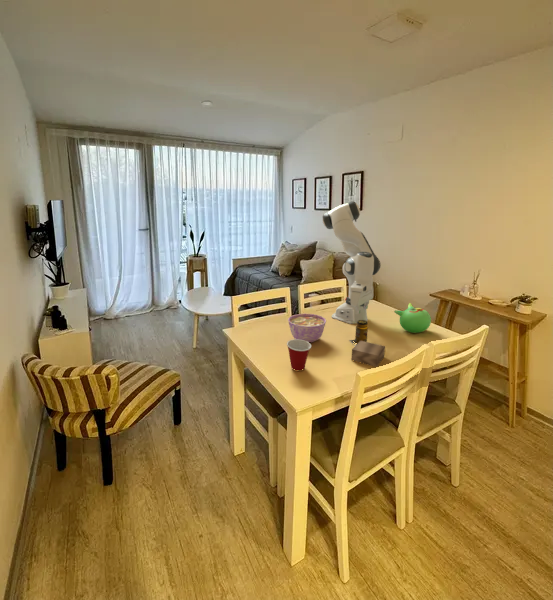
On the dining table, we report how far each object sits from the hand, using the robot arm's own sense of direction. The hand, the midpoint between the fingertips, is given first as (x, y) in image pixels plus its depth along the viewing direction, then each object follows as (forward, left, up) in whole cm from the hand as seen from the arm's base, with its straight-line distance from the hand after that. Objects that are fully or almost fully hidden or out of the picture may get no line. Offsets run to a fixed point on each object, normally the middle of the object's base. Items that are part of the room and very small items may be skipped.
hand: (361, 311), depth 171 cm
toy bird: (+18, +34, -18) cm, 43 cm away
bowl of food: (-24, -14, -18) cm, 33 cm away
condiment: (0, 0, -18) cm, 18 cm away
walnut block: (+11, -15, -18) cm, 26 cm away
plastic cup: (-10, -43, -18) cm, 48 cm away
